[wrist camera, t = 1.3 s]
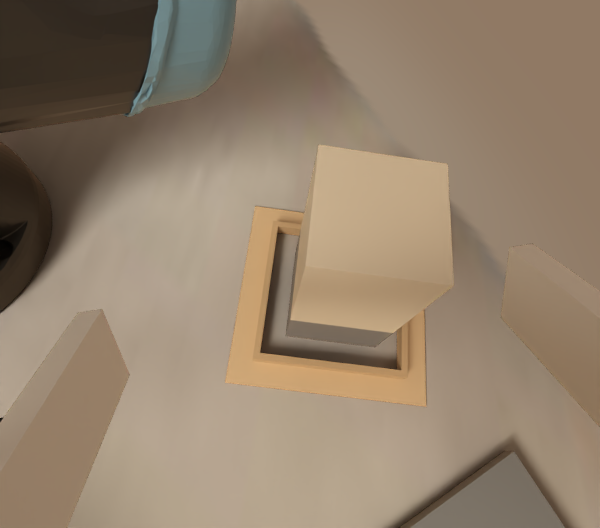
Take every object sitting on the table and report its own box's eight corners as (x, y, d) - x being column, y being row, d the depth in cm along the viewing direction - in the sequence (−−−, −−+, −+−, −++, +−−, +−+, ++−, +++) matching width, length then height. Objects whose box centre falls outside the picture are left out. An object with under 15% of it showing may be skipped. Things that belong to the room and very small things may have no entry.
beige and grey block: (285, 336, 27) (305, 265, 16) (295, 254, 30) (318, 144, 19) (374, 347, 27) (453, 285, 16) (377, 265, 30) (447, 163, 19)
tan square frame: (224, 382, 26) (223, 380, 25) (255, 206, 31) (255, 199, 30) (425, 406, 26) (431, 405, 25) (422, 230, 31) (427, 224, 30)
